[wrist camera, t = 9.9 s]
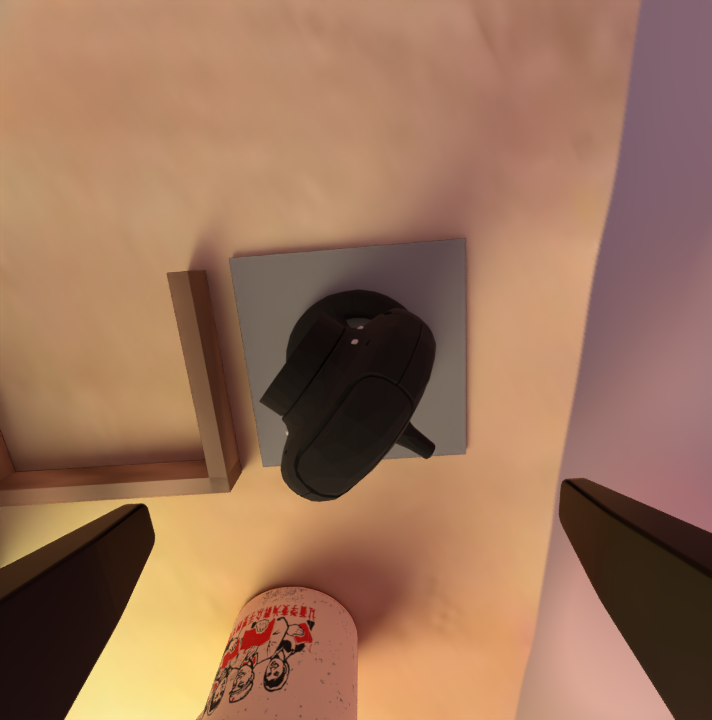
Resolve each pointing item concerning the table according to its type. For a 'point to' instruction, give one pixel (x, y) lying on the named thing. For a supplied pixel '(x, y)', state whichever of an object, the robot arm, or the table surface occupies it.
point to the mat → (359, 324)
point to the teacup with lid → (288, 661)
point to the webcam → (350, 391)
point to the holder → (154, 478)
